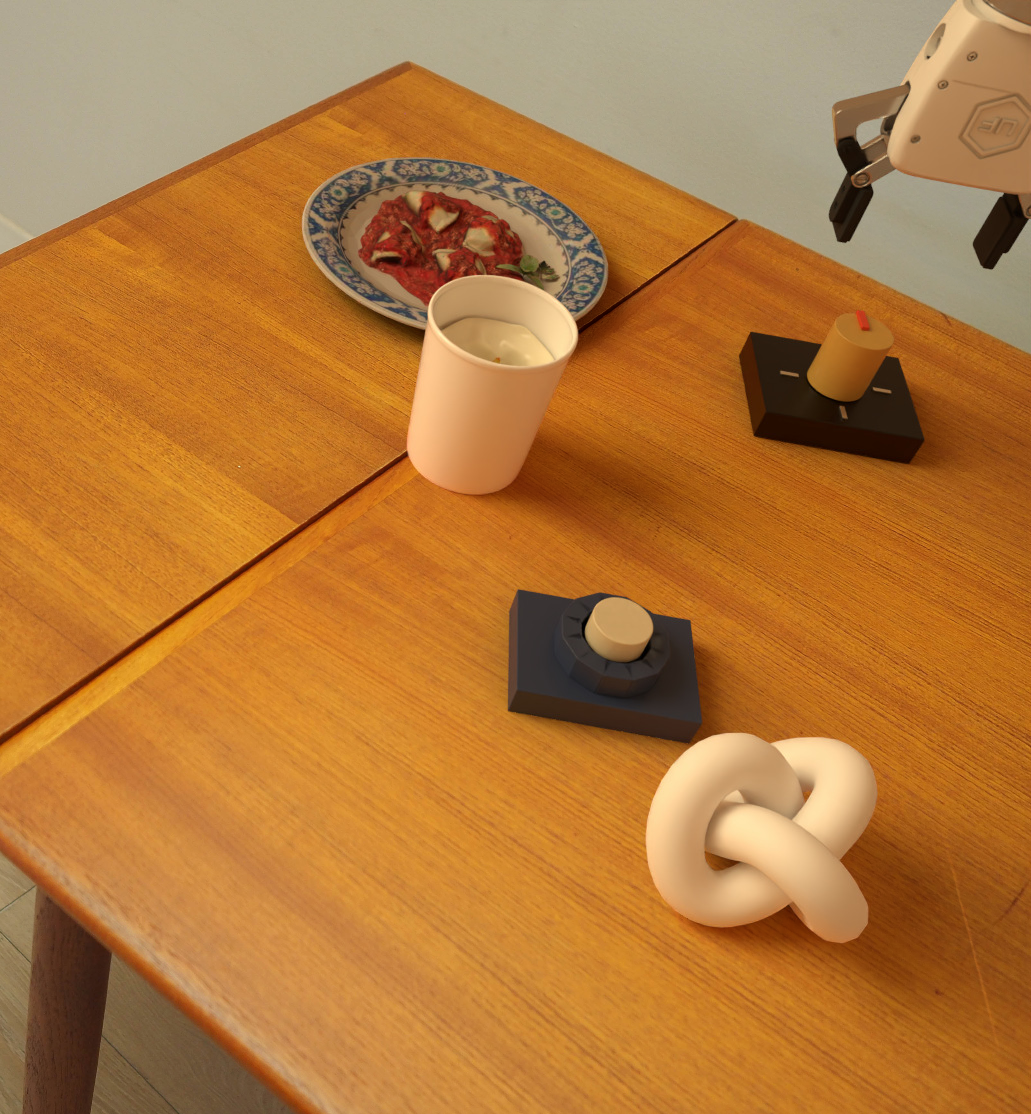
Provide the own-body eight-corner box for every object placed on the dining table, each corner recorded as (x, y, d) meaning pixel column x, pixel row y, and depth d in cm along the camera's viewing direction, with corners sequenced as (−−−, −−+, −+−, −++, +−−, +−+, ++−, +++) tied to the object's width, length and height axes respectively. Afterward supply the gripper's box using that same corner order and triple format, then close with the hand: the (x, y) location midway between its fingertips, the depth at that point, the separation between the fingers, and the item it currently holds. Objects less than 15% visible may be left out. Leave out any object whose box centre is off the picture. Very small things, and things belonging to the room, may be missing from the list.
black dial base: (884, 381, 102) (899, 355, 100) (909, 464, 95) (926, 438, 93) (738, 355, 102) (751, 329, 100) (753, 436, 95) (767, 409, 93)
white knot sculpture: (642, 973, 65) (705, 889, 58) (602, 774, 73) (654, 680, 66) (852, 984, 66) (938, 903, 59) (790, 786, 74) (859, 695, 67)
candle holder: (465, 524, 85) (509, 388, 76) (366, 442, 90) (397, 304, 81) (558, 468, 90) (609, 334, 82) (460, 392, 95) (498, 257, 86)
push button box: (678, 641, 80) (701, 601, 78) (689, 744, 75) (714, 705, 72) (509, 611, 80) (524, 569, 78) (507, 711, 75) (524, 671, 72)
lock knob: (869, 406, 95) (902, 350, 92) (811, 396, 95) (842, 340, 92) (857, 369, 98) (889, 314, 95) (802, 360, 98) (831, 305, 95)
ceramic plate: (237, 262, 103) (240, 230, 100) (400, 147, 118) (406, 117, 116) (512, 404, 95) (523, 374, 92) (648, 261, 110) (660, 232, 108)
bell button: (642, 621, 76) (651, 602, 75) (645, 667, 74) (655, 649, 73) (583, 610, 76) (592, 592, 75) (585, 656, 74) (594, 638, 73)
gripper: (913, -10, 70) (789, 252, 83) (1223, 45, 70) (1052, 300, 82) (889, -61, 75) (776, 193, 88) (1178, -10, 75) (1023, 238, 87)
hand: (910, 244), depth 85 cm, fingers open, 9 cm apart
